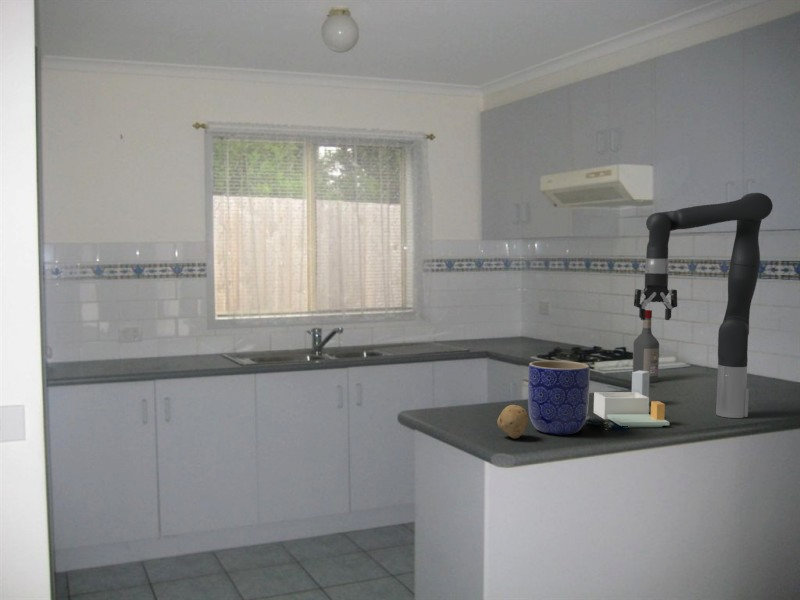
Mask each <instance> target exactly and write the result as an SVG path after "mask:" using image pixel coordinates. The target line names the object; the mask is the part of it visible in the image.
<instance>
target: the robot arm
mask: <svg viewBox="0 0 800 600" xmlns="http://www.w3.org/2000/svg"><path fill="white" fill-rule="evenodd" d="M773 207H774V206H773V201H772V199H771V198H770V197H769V196H768V195H767V194H764V193H762V192H751V193H750V192H749V193H747V194H745V195H743V196H742V197H741V198H739V199H736V200H733V201H729V202H728V201H727V202H722V203H713V204H702V205H701V204H700V205H695V206H688V207H684V208H679V209H676V210H670V211H661V212H655V213H652V214H650V215H649V216H648V217H647V219H646V221H645V222H646V223H645V225H646V229H647V230H648V231H649V232H648V233H649V234H648V241H647V245H646V256H645V258H646V259H645V267H644V270H645V271H644V289H640V288H635V290H634V299H633V306H634V308H635V307H636V308H638V309H639V310H638V312H639V314H638V316H639V318H640V320H641V321H643V320H645V310H646V308H647V306H648V305H649V304H650V303H662V304H663V306H664V307H665V309H664V320H665V321H670V319H672V310H673V309H674V308H677V307H678V291H677V289H674V288H672V289H668V287H669V272H670V270H669V269H670V267H669V242H670V237H671V236H670V235H671V232H672V231H677V230H688V229H693V228H694V229H696V228H700V227H705V226H709V225H715V224H719V223H726V222H731V221H736V228H735V229H736V230H735V238H734V242H733V247H732V251H731V257H730V261H729V269H728V275H727V304H726V308H725V309H726V310H725V313H724V317H723V320H722V323H721V324H720V325H719V327H718V335H717V336H718V337H717V378H716V379H717V382H716V385H717V386H716V408H715V414H716V416H719V417H723V418H727V419H728V418H730V419H742V418H743V419H744V418H748V416H749V398H750V397H749V395H750V393H749V391H750V389H749V388H748V387H747V381H748V380H747V378H748V377H747V376H748V362H749V361H748V359H749V357H748V350H749V349H748V343H749V335H750V313H751V304H752V300H753V297H754V294H755V290H756V286H757V282H758V278H759V271H760V266H761V254H760V253H761V251H760V244H759V243H760V242H759V235H760V228H761V223H762V221H763V220H765V219H767V218H768V217H769V216H770V214H771V213H772V211H773V209H774V208H773ZM643 295H644V296H645V297H644V298H643V299H642V298H641V296H643ZM668 295H669V297H670V301H669V299H668V298H667V296H668ZM641 299H642V300H641ZM641 301H642V302H641Z"/></svg>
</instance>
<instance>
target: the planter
mask: <svg viewBox="0 0 800 600" xmlns="http://www.w3.org/2000/svg"><path fill="white" fill-rule="evenodd" d="M590 369H591V368H590V365H588V364H586V363H583V362H578V361H571V360H570V361H569V360H536V361H532V362H530V363H528V374H527V375H528V381H527V383H528V385H527V387H528V388H527V397H528V398H527V401H528V402H527V406H528V417H529V419H530V421H531V423H532V425H533V427H534V428H535V429H536V430H537V431H539V432H541V433H544V434H549V435H557V436H559V435H560V436H568V435H574V434H576V433H578V432H579V431H580V430H581V429H582V428H583V426H584V425H585V423H586V421H587V418H588V413H589V412H588V411H589V399H590V383H591V382H590V376H591V375H590V373H591V371H590Z"/></svg>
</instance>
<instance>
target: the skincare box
mask: <svg viewBox="0 0 800 600" xmlns="http://www.w3.org/2000/svg"><path fill="white" fill-rule="evenodd" d="M631 392H638V393H640V394H642V395H644V396H646V397H648V398H649V399H650V383H649V372H648V371H640V370H639V371H635V372H633V371H632V372H631Z"/></svg>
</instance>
